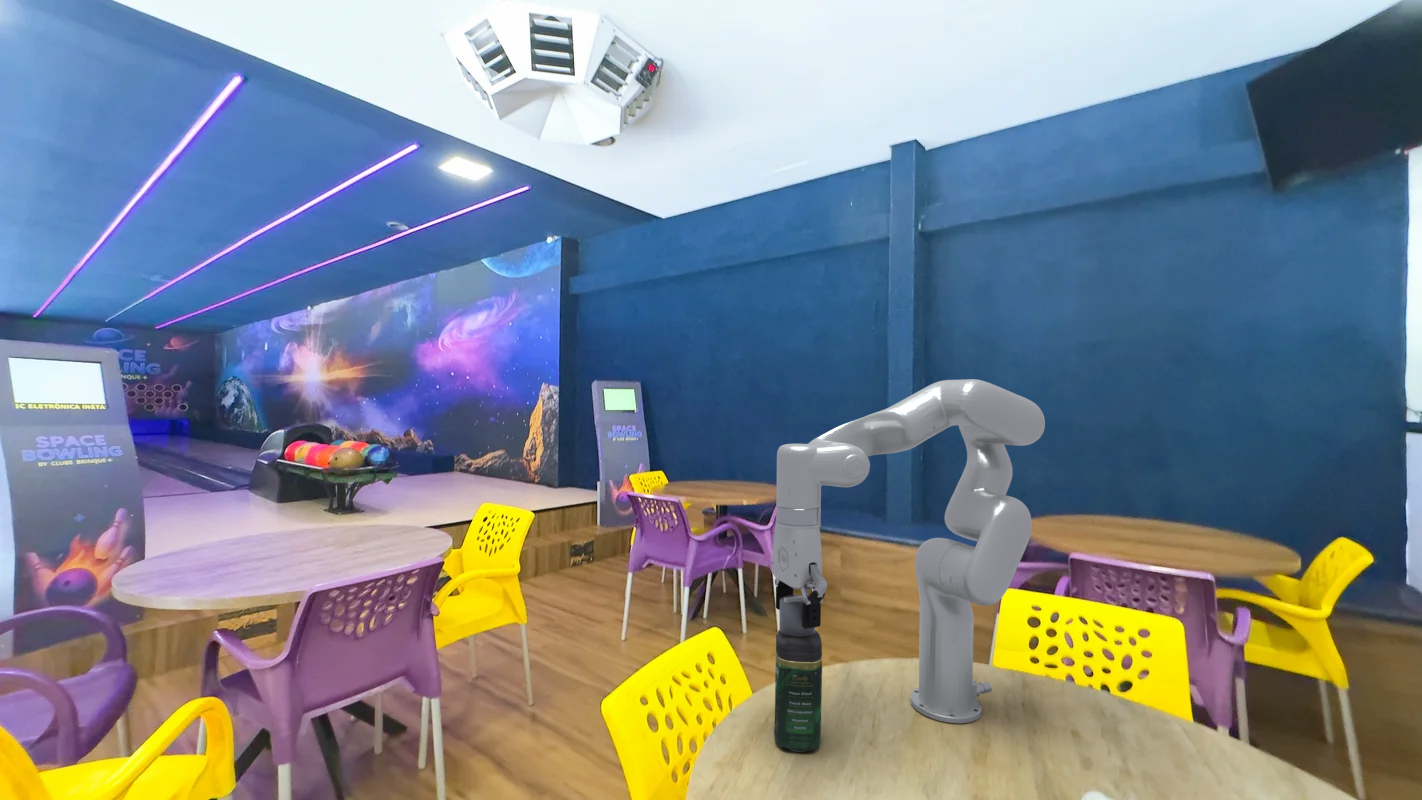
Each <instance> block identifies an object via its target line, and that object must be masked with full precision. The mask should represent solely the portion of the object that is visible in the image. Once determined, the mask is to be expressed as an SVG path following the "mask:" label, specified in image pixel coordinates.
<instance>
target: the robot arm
mask: <svg viewBox="0 0 1422 800" xmlns="http://www.w3.org/2000/svg"><path fill="white" fill-rule="evenodd" d="M953 426H958V429H959V432H960V434H961V436H962V439H963V442H964V445H965V447H966V454H967V456H966V457H967V458H966V459H967V460H966V465H965V467H964V469H963V471H962V474H961V477H960V479H959V480H958V482H957V485H956V487H955V490H954V492H953V494H952V495H951V497H950V499H949V502H948V503H947V507H946V509H945V512H944V523H945V526H946V528H947V529H948V530H949V531H950V532H952V533H953V534H954V535H956V536H959V537H961V538H964V539H967V540H969V541H970V540H971V541H974V542H976V545H975V546H972V545H969V544H967V543H963V542H960V541H957V540H953V539H949V538H947V537H946V538H944V537H933V538H930V539H927V540H925V541H924V542H923V543H921V545H920V546H919V547H918V548H917V551H916V553H915V558H914V571H915V576H916V582H917V587H918V596H919V597H918V598H919V633H918V635H919V636H918V637H919V642H918V643H919V646H918V647H919V648H918V650H919V651H918V654H919V655H918V687H916V688H914V689H913V690H912V691H911V693H910V701H909V702H910V704H911V706H912V707H913V708H914V710H916V711H917V712H919V713H921V714H922V715H924V716H926V717H928V718H930V719H933V720H936V721H940V722H944V723H948V724H966V723H967V724H968V723H972V722H975V721H977V720H978V719H980V718H981V716H982V705H981V703H980V702H979V700H978V699H977V698H978V697H980V695H982V694H989V693H991V692H992V691H993V687H992V684H991V683H990V681H983V682H982V681H981V682H979V683H977V681H976V679H975V678H973V677H974V673H973V672H974V668H973V667H974V663H973V662H974V624H975V623H974V622H975V621H974V612H973V609H972V608H973V607H972V604H971V603H973V604H975V605H978V606H983V607H984V606H985V607H987V606H991V605H994V604H996V603H998V602H999V601H1000V600H1001V599H1002V598H1003V597H1004V596H1005V594H1006V592H1007V591H1008V589H1009V587H1010V585H1011V583H1012V580H1013V578H1014V575H1015V573H1016V572H1017V568H1018V566H1019V564H1020V562H1021V560H1022V558H1023V556H1024V553H1025V551H1026V549H1027V546H1028V543H1029V541H1030V538H1031V535H1032V530H1033V529H1032V528H1033V527H1032V526H1033V525H1032V524H1033V523H1032V522H1033V521H1032V515H1031V513H1030V510H1029V509H1028V506H1026V505H1025V503H1023V501H1021V500H1020V499H1018V498H1016V497H1013V496H1009V495H1007V492H1008V490H1009V488H1010V485H1011V482H1012V479H1013V465H1012V462H1011V458H1010V456H1009V453H1008V451H1007V448H1006V446H1007V445H1008V446H1017V447H1018V446H1021V447H1025V446H1029V445H1032V444H1033V443H1035V442H1037V441H1038V440H1039V439H1041V437H1042V436H1043V434H1044V431H1045V426H1046V421H1045V416H1044V413H1043V410H1042V409H1041V408H1040V407H1039V406H1038V404H1036V403H1035V402H1034V401H1032V400H1030V399H1028V398H1027V397H1024V396H1023V395H1022V396H1021V395H1019V394H1017V393H1015V392H1012V391H1009V390H1007V389H1005V388H1003V387H1000V386H998V385H995V384H993V383H991V382H988V381H984V380H981V379H977V378H976V379H973V378H971V379H946V380H939V381H935V382H934V383H931V384H929V385H927V386H926V387H924V388H921V389H920V390H918V391H916V392H914V393H913V394H911V395H909V396H907V397H905V398H904V399H902V400H900V401H899V402H897V403H894V404H893V405H891V406H889V407H887V408H884V409H881V410H880V411H876V412H873V413H871V414H868V415H865V416H863V417H860V418H857V419H854V420H851V421H849V422H846V423H843V424H841V425H838V426H837V427H834V428H832V429H830V430H828V431H827V432H825V433H822V434H821V435H819V436H817V437H815V438H813V439H812V440H811V441H809V442H808V443H787V444H783V445H780V446H779V447H778V449H777V452H776V498H775V499H776V501H775V502H776V508H775V510H776V514H775V516H776V517H775V518H776V519H775V526H774V533H773V540H772V542H773V543H772V555H771V574H772V575H773V576H774V577H775V579H774V585H775V609H777V611H778V610H779V611H780V598H782V597H784V596H788V595H794V590H800V592H801V594H802V595H801V596H803V598H804V602H805V603H802V627H803V628H804V629H807V628H814V627H815V628H819V627H821V625H822V623H821V622H822V621H821V618H822V617H821V614H822V611H821V610H822V608H821V607H822V603H823V602H824V601H823V600H824V598H825V595H826V593H825V592H826V590H827V587H828V583H827V580H826V578H825V577H824V576H823V554H822V551H823V549H822V540H821V539H822V537H821V531H820V527H821V524H822V523H821V521H822V519H821V518H822V517H821V512H822V511H821V509H822V507H821V502H822V499H821V498H822V487H823V486H830V487H838V488H851V487H854V486H858V485H860V484H861V483H863V482H864V481H865V480H866V478H867V477H868V475H869V473H870V467H871V463H870V459H869V457H872V456H876V455H877V456H878V455H889V454H896V453H900V452H905V451H909V450H912V449H914V448H915V447H917V446H918V445H921V444H923V443H924V442H926V441H927V440H928V439H931V438H932V437H934V436H936V435H938V434H939V433H941V432H943V431H944V430H947V429H948V428H950V427H953ZM808 590H809V591H810V590H812V591H811V593H810V594H809V591H808Z"/></svg>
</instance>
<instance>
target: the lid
mask: <svg viewBox="0 0 1422 800" xmlns="http://www.w3.org/2000/svg"><path fill="white" fill-rule="evenodd" d="M802 603H805V602H804V598H803V595H798V594H793V595H788V596H784V597H782V598H780V610H779V630H780V631H781V632H782V633H784V634H786V635H789V636H795V637H805V636H810V635H812V634H814V633H815V630H816V627H814V628H807V629H804V628H803V627H802Z"/></svg>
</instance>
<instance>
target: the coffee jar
mask: <svg viewBox="0 0 1422 800" xmlns="http://www.w3.org/2000/svg"><path fill="white" fill-rule="evenodd" d="M775 639H776V640H775V673H774V674H775V677H774V678H775V680H774V681H775V683H774V687H775V689H774V690H775V691H774V738H775V742H776V744H777V745H778V746H779V747H780V748H783V749H786V750H789V751H792V752H796V753H805V752H809V751H813V750H814V751H815V750H817V749H818V748H819V746H820V744H821V732H822V730H821V729H822V694H823V693H822V692H823V644H822V637H821V635H820V633H819V632H818V631H817V630H816V629H815V633H814V634H812V635H810V636H805V637H795V636H789V635H786V634H784V633H782V632H781V631H780V629H779V630H778V631H777V634H776V636H775Z"/></svg>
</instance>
